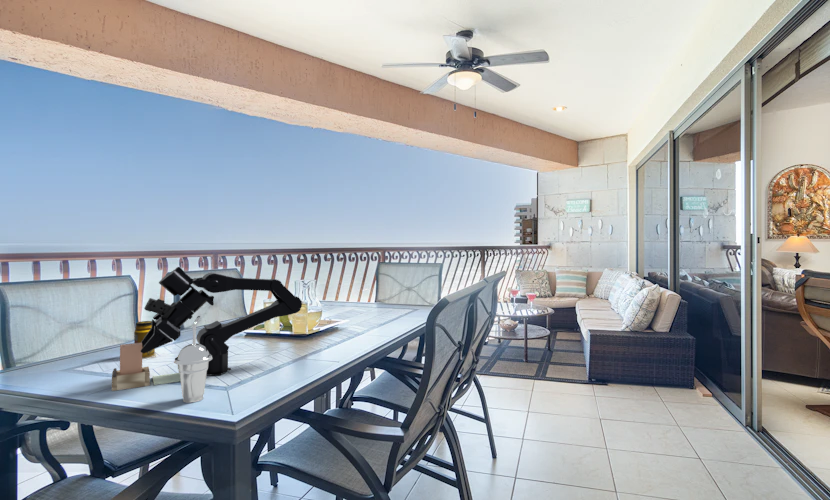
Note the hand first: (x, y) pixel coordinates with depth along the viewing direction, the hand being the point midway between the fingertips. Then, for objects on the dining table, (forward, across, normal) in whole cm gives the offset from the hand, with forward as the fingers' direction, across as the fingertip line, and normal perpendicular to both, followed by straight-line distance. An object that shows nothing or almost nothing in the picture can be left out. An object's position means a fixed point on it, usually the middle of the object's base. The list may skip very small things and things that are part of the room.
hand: (141, 349), depth 117 cm
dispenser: (+8, 0, +5) cm, 10 cm away
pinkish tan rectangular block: (+8, 0, +5) cm, 10 cm away
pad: (+2, 0, +12) cm, 12 cm away
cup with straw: (-1, +22, +14) cm, 26 cm away
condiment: (+6, -34, +8) cm, 36 cm away
